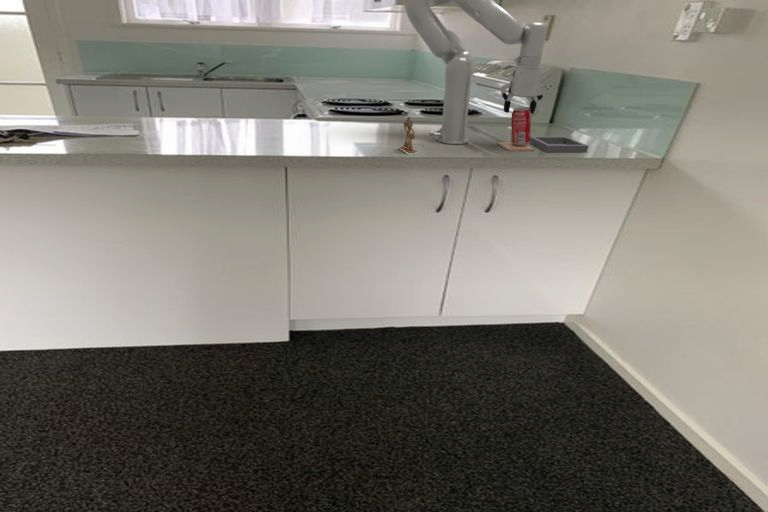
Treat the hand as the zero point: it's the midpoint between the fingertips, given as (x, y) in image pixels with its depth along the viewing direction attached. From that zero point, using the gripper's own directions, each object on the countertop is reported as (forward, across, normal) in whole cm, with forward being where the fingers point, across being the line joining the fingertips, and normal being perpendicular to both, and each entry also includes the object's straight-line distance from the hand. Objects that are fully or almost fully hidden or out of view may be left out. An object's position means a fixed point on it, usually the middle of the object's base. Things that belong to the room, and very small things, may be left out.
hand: (518, 112), depth 156 cm
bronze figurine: (+14, -42, -7) cm, 45 cm away
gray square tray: (+12, +18, -1) cm, 22 cm away
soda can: (+12, +3, 0) cm, 12 cm away
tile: (+13, +1, -1) cm, 13 cm away
